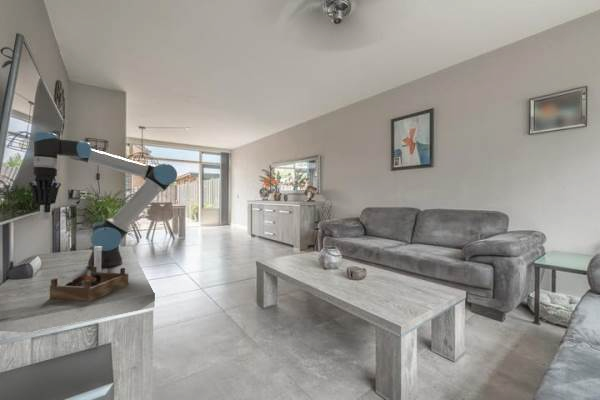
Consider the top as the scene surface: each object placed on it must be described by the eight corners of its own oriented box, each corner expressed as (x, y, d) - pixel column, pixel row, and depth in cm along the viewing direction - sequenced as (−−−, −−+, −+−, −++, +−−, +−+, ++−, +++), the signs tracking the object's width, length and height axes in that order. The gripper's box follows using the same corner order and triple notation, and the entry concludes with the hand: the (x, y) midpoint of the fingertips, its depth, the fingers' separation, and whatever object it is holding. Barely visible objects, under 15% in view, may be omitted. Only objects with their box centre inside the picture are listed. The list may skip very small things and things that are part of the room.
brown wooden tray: (92, 282, 112) (93, 266, 112) (128, 284, 111) (128, 268, 111) (49, 298, 94) (50, 279, 94) (91, 300, 93) (91, 281, 93)
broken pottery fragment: (86, 299, 96) (73, 281, 94) (68, 307, 98) (54, 290, 96) (112, 281, 107) (100, 264, 106) (96, 289, 109) (84, 273, 108)
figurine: (107, 275, 122) (107, 244, 122) (107, 281, 115) (108, 247, 115) (87, 278, 118) (87, 245, 118) (86, 284, 110) (87, 248, 110)
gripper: (22, 165, 113) (21, 219, 114) (50, 166, 112) (49, 220, 113) (41, 167, 121) (40, 218, 121) (67, 168, 120) (66, 219, 120)
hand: (44, 219), depth 117 cm, fingers closed
